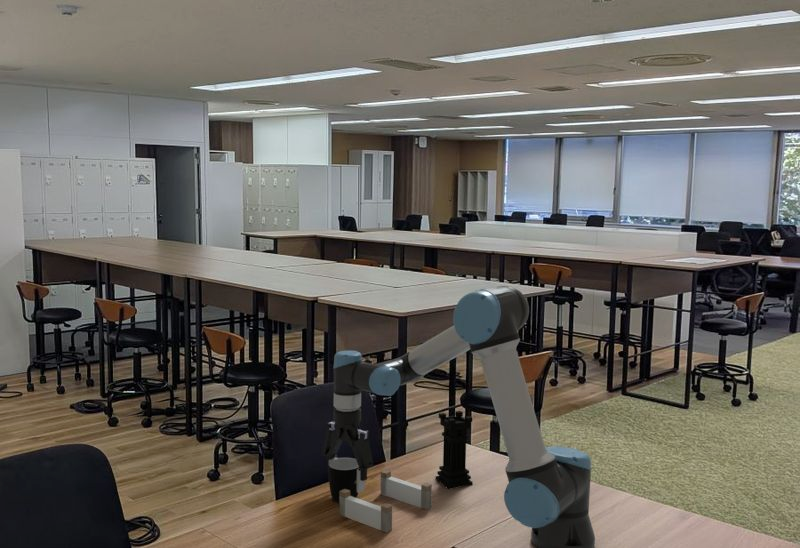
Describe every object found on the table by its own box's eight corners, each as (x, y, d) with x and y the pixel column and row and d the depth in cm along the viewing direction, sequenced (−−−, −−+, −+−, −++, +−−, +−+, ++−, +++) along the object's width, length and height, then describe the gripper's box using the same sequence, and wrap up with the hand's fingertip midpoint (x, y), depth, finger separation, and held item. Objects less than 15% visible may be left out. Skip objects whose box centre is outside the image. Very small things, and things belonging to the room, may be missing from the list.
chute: (431, 507, 193) (431, 484, 192) (386, 532, 178) (387, 508, 177) (385, 491, 202) (385, 469, 202) (339, 514, 187) (339, 491, 187)
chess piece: (435, 478, 212) (436, 413, 210) (458, 474, 215) (460, 410, 213) (448, 489, 205) (450, 421, 203) (472, 484, 208) (474, 417, 206)
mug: (358, 506, 193) (358, 470, 191) (325, 505, 193) (325, 468, 192) (364, 488, 204) (364, 454, 203) (333, 487, 205) (333, 452, 204)
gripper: (387, 412, 192) (386, 492, 194) (327, 397, 206) (327, 472, 208) (369, 418, 186) (368, 501, 188) (308, 402, 200) (308, 480, 202)
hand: (346, 486), depth 198 cm, fingers open, 10 cm apart
